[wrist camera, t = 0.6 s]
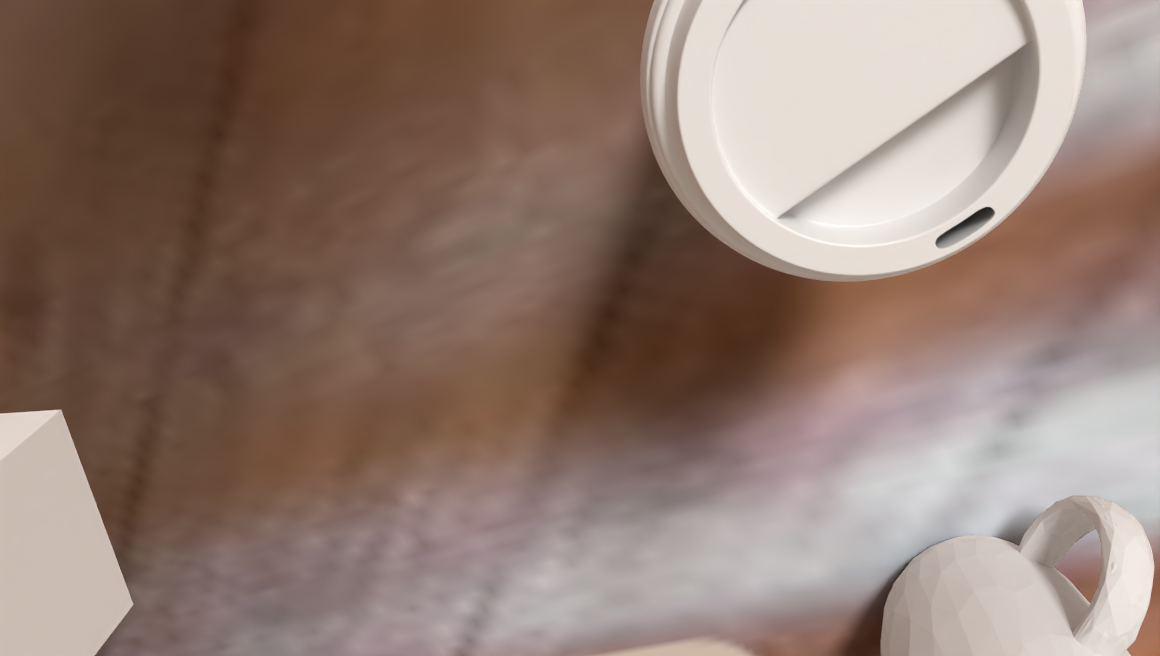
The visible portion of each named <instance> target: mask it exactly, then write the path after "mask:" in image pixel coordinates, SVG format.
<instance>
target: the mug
mask: <svg viewBox="0 0 1160 656" xmlns="http://www.w3.org/2000/svg"><path fill="white" fill-rule="evenodd" d="M1094 529H1096V530H1097V532H1098V534H1099V537H1100V542H1101V555H1102V568H1101V573H1100V579H1099V584H1098V588H1097V590H1096V592H1095V595H1094V597H1093V599H1092V601H1091V604H1090V603H1089V602H1088V601H1087V600H1086V598H1085V597H1084V596H1083V595H1082V594H1081V593H1080V592H1079V591H1078V590H1077V588H1076V587H1075V586H1074V585H1073V584H1072V583H1071V582H1070V581H1069V579H1067V578H1066V577H1065V576H1064V575H1063V574H1061V573H1060V572H1059V571H1058V570H1057V569H1055V568H1054V566H1055V565H1056V564H1057V563H1058V562H1059V561H1060V559H1061V558H1062V557H1063V556H1064V555H1065V554H1066V552H1067V551H1068V550H1069V549H1070V548H1071V547H1072V545H1073V544H1074V543H1075V542H1076V541H1078V540H1079V539H1080V538H1082V537H1083V536H1084V535H1086V534H1087V533H1089V532H1090V531H1092V530H1094ZM1153 574H1154V562H1153V555H1152V549H1151V547H1150V544H1149V541H1148V539H1147V537H1146V534H1145V532H1144V530H1143V527H1142V525H1141V524H1140V523H1139V522H1138V521H1137V520H1136V519H1135V518H1134V516H1132V515H1131V514H1130V513H1129V512H1127V511H1126V510H1124V509H1123V508H1121V507H1119V506H1118V505H1116V504H1115V503H1113V502H1111V501H1108V500H1105V499H1102V498H1100V497H1092V496H1071V497H1068V498H1066V499H1063V500H1060V501H1057V502H1056V503H1054V504H1053V505H1052V506H1051V507H1049V508H1048V509H1046V510H1045V511H1044V512H1043V513H1042V514H1041V515H1039V516H1038V517H1037V518H1036V520H1035V521H1034V522H1033V524H1032V525H1031V526H1030V527H1029V529H1028V530H1027V531H1026V532H1025V534H1024V536H1023V538H1022V540H1021V543H1020V545H1019V546H1018V545H1016V544H1014V543H1012V542H1010V541H1006V540H1003V539H1000V538H996V537H990V536H983V535H971V536H961V537H955V538H952V539H949V540H946V541H943V542H941V543H938V544H936V545H933V546H930V547H929V548H927V549H926V550H925V551H923V552H922V553H920V554H919V555H918V556H916V557H915V558H913V559H912V561H911V562H910V563H909V564H908V566H907V567H906V568H905V570H904V571H903V572H902V573H901V575H900V576H899V577H898V578H897V580H896V581H895V582H894V584H893V586H892V589H891V591H890V593H889V595H888V598H887V601H886V604H885V607H884V615H883V624H882V633H881V643H880V644H881V656H1131V655H1130V654H1129V652H1128V651H1127V650H1126V649H1127V648H1128V647H1129V646H1130V645H1131V644H1132V643H1133V642H1134V641H1135V639H1136V637H1137V634H1138V632H1139V629H1140V626H1141V624H1142V621H1143V619H1144V617H1145V615H1146V612H1147V609H1148V606H1149V603H1150V597H1151V590H1152V584H1153Z"/></svg>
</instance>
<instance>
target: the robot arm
mask: <svg viewBox="0 0 1160 656" xmlns="http://www.w3.org/2000/svg"><path fill="white" fill-rule="evenodd" d="M132 606H133V602H132V600H131V597H130V594H129V591H128V589H127V586H126V583H125V581H124V578H123V575H122V573H121V570H120V567H119V565H118V562H117V559H116V556H115V554H114V551H113V548H112V546H111V543H110V540H109V538H108V535H107V532H106V529H105V527H104V524H103V521H102V519H101V516H100V513H99V511H98V508H97V505H96V502H95V500H94V497H93V494H92V492H91V489H90V486H89V484H88V481H87V478H86V476H85V473H84V470H83V467H82V465H81V462H80V459H79V457H78V454H77V451H76V449H75V446H74V443H73V440H72V438H71V435H70V432H69V430H68V427H67V424H66V422H65V419H64V416H63V414H62V411H61V410H48V411H33V412H18V413H3V414H0V656H95V654H96V653H97V652H98V650H99V649H100V648H101V646H102V645H103V644H104V643H105V641H106V640H107V639H108V637H109V636H110V635H111V633H112V632H113V631H114V629H115V628H116V627H117V626H118V624H119V623H120V622H121V620H122V619H123V618H124V616H125V615H126V614H127V613H128V611H129V610H130V609H131V607H132Z"/></svg>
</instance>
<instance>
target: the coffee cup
mask: <svg viewBox="0 0 1160 656" xmlns="http://www.w3.org/2000/svg"><path fill="white" fill-rule="evenodd" d="M1085 60H1086V25H1085V15H1084V8H1083V2H1082V0H654V3H653V6H652V9H651V12H650V15H649V19H648V23H647V27H646V31H645V36H644V41H643V48H642V56H641V69H640V89H641V102H642V110H643V116H644V121H645V126H646V130H647V134H648V138H649V141H650V144H651V147H652V150H653V153H654V155H655V158H656V160H657V162H658V165H659V167H660V169H661V171H662V173H663V175H664V177H665V178H666V180H667V182H668V184H669V185H670V187H671V189H672V190H673V192H674V193H675V195H676V196H677V197H678V199H679V200H680V201H681V203H682V204H683V205H684V207H685V208H686V209H687V210H688V211H689V212H690V214H691V215H692V216H693V217H694V218H695V219H696V220H697V221H698V222H699V223H700V224H701V225H702V226H703V227H704V228H705V229H706V230H708V231H709V232H710V233H711V234H712V235H714V236H715V237H716V238H717V239H719V240H720V241H722V242H723V243H724V244H726V245H727V246H729V247H730V248H732V249H733V250H735V251H737V252H738V253H740V254H742V255H743V256H745V257H747V258H749V259H751V260H753V261H755V262H757V263H759V264H762V265H764V266H766V267H769V268H772V269H774V270H777V271H780V272H783V273H787V274H790V275H794V276H799V277H804V278H809V279H815V280H824V281H865V280H874V279H881V278H887V277H892V276H897V275H901V274H905V273H909V272H912V271H915V270H918V269H921V268H924V267H927V266H930V265H932V264H935V263H937V262H939V261H942V260H944V259H946V258H948V257H950V256H952V255H954V254H956V253H958V252H960V251H961V250H963V249H965V248H967V247H968V246H970V245H971V244H973V243H975V242H976V241H978V240H979V239H981V238H982V237H983V236H985V235H986V234H987V233H989V232H990V231H991V230H993V229H994V228H995V227H996V226H998V225H999V224H1000V223H1001V222H1002V221H1004V220H1005V219H1006V218H1007V217H1008V216H1009V215H1010V214H1011V213H1012V212H1013V211H1014V210H1015V209H1016V208H1017V207H1018V206H1019V205H1020V204H1021V203H1022V202H1023V201H1024V200H1025V198H1026V197H1027V196H1028V195H1029V194H1030V193H1031V191H1032V190H1033V189H1034V188H1035V186H1036V185H1037V184H1038V182H1039V181H1040V180H1041V178H1042V177H1043V175H1044V174H1045V172H1046V171H1047V169H1048V168H1049V166H1050V165H1051V163H1052V161H1053V160H1054V158H1055V156H1056V154H1057V152H1058V151H1059V149H1060V147H1061V145H1062V143H1063V140H1064V138H1065V136H1066V134H1067V131H1068V129H1069V127H1070V124H1071V121H1072V119H1073V116H1074V113H1075V110H1076V107H1077V103H1078V100H1079V96H1080V91H1081V87H1082V82H1083V76H1084V69H1085Z"/></svg>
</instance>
